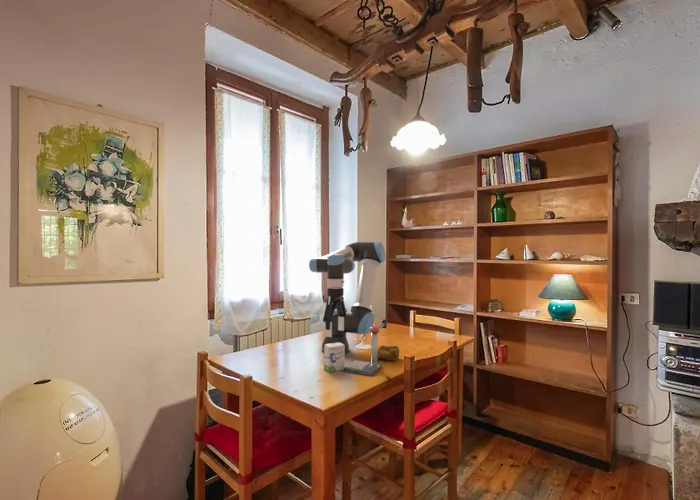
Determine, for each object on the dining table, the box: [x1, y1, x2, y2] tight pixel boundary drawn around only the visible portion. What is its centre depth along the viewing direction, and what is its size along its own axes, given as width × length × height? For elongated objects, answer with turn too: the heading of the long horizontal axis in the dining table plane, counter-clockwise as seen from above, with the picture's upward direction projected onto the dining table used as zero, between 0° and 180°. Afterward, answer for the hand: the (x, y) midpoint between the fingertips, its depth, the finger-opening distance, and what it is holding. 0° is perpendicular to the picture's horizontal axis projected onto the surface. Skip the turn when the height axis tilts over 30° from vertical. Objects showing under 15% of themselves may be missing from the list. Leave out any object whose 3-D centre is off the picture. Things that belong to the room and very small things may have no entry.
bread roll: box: [378, 345, 400, 362], centre depth 190 cm, size 13×10×8 cm
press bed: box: [342, 332, 383, 377], centre depth 174 cm, size 15×14×18 cm
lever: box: [370, 318, 388, 334], centre depth 178 cm, size 4×18×4 cm, turn 157°
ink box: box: [323, 342, 346, 373], centre depth 173 cm, size 9×5×12 cm, turn 117°
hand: (335, 333), depth 173 cm, fingers open, 13 cm apart
